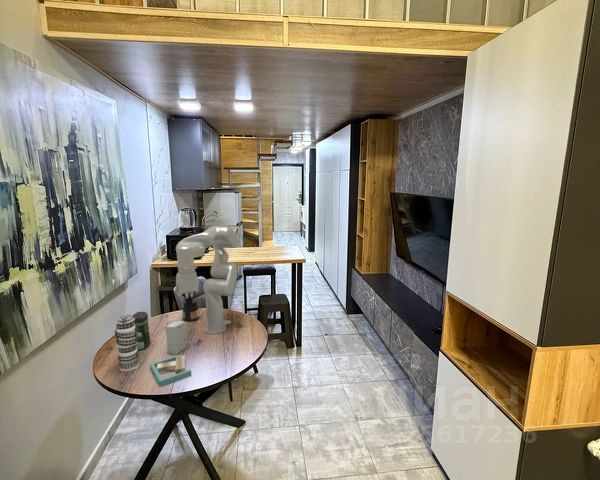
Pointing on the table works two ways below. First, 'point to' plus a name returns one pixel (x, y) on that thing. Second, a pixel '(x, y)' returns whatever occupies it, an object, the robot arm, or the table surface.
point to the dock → (172, 378)
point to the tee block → (172, 366)
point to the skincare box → (176, 337)
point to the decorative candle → (127, 343)
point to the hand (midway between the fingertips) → (189, 304)
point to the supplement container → (190, 311)
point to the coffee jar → (142, 330)
